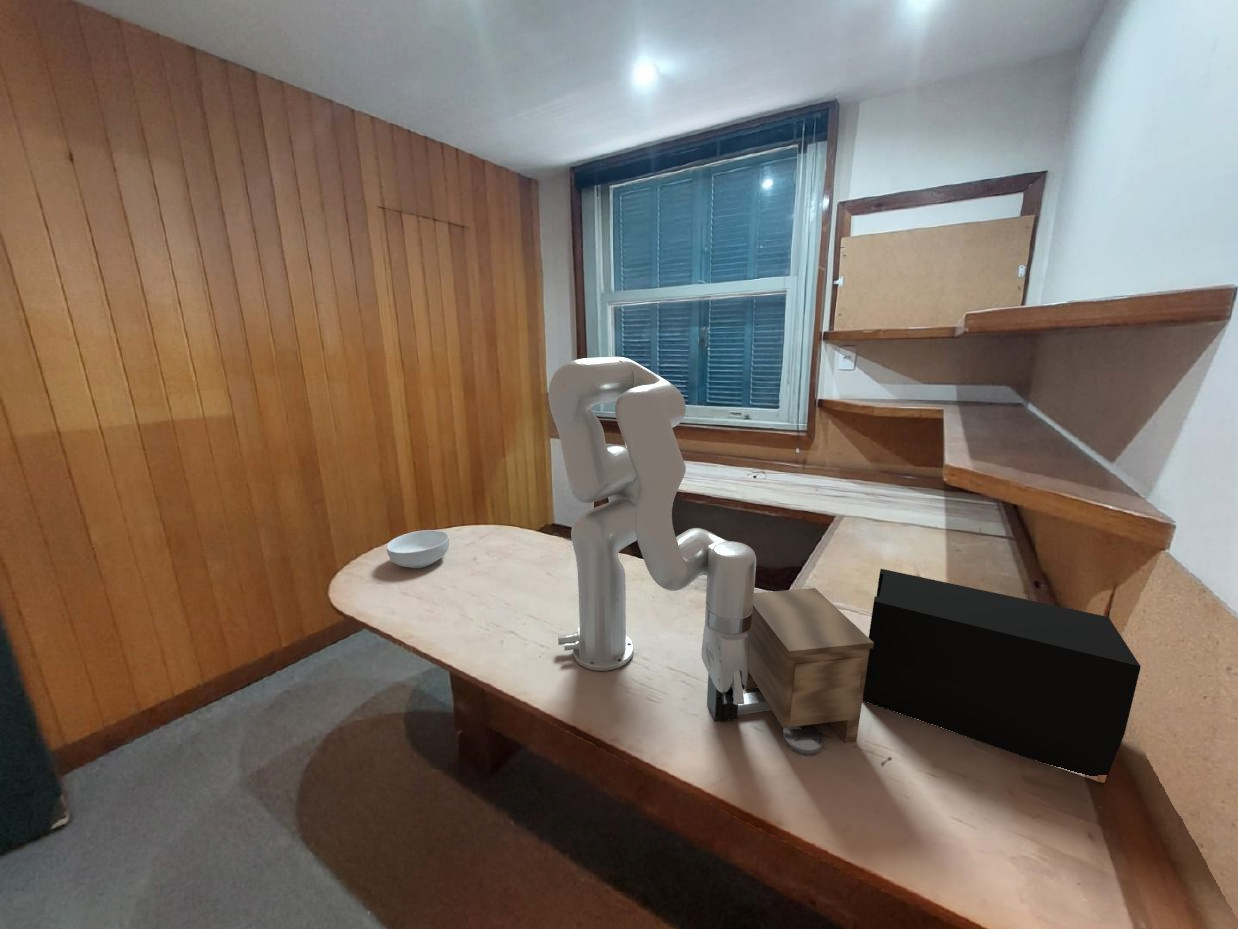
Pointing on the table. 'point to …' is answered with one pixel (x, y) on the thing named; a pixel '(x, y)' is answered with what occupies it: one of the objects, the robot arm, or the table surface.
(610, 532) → the robot arm
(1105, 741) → the uninterruptible power supply
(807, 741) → the steel token
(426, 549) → the cereal bowl
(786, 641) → the walnut cabinet
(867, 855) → the table surface
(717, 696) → the metal handled mallet
